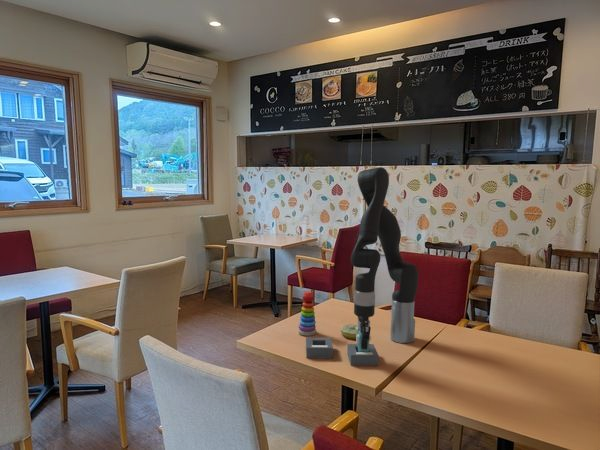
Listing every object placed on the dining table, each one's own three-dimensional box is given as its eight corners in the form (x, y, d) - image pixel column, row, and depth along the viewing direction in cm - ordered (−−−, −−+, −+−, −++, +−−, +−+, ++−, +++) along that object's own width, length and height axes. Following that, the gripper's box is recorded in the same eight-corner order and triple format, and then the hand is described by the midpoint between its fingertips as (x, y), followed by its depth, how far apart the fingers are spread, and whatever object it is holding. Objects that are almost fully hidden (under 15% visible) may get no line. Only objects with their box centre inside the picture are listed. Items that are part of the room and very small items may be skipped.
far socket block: (330, 347, 164) (330, 337, 164) (332, 358, 154) (333, 347, 154) (305, 347, 164) (305, 337, 163) (306, 358, 154) (306, 347, 154)
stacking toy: (316, 336, 175) (317, 294, 173) (297, 336, 175) (298, 294, 173) (316, 330, 183) (316, 289, 181) (298, 329, 183) (298, 289, 181)
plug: (367, 356, 155) (367, 330, 154) (368, 360, 151) (369, 334, 150) (355, 356, 155) (356, 331, 154) (357, 360, 151) (357, 334, 150)
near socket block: (373, 354, 158) (373, 343, 158) (378, 365, 148) (378, 354, 148) (347, 353, 158) (347, 343, 158) (350, 365, 148) (351, 354, 148)
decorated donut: (369, 334, 179) (369, 325, 179) (360, 342, 170) (360, 333, 169) (347, 329, 184) (347, 321, 184) (337, 337, 175) (337, 328, 175)
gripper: (378, 308, 144) (377, 354, 146) (370, 296, 158) (369, 339, 160) (357, 308, 143) (356, 354, 145) (351, 296, 158) (350, 339, 160)
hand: (363, 346), depth 153 cm, fingers closed on plug, 3 cm apart
